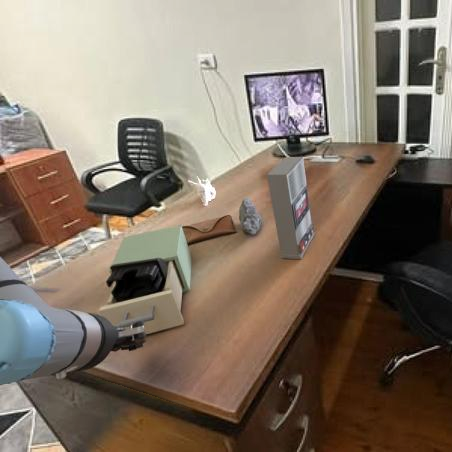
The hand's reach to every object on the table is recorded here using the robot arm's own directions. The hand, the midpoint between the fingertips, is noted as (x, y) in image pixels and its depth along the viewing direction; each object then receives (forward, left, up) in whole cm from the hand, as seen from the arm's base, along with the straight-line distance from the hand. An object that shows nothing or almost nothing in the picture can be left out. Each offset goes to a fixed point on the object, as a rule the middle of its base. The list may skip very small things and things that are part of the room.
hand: (138, 340), depth 67 cm
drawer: (+3, +12, -5) cm, 14 cm away
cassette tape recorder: (+45, +17, -6) cm, 48 cm away
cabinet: (+8, +27, -6) cm, 29 cm away
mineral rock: (+37, +38, -6) cm, 53 cm away
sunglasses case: (+25, +44, -6) cm, 51 cm away
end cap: (+4, +14, +2) cm, 14 cm away
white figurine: (+33, +73, -6) cm, 81 cm away
